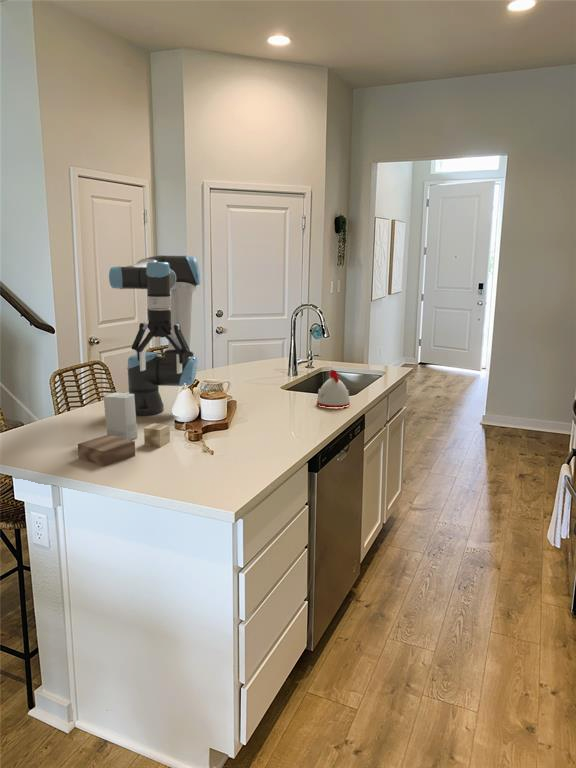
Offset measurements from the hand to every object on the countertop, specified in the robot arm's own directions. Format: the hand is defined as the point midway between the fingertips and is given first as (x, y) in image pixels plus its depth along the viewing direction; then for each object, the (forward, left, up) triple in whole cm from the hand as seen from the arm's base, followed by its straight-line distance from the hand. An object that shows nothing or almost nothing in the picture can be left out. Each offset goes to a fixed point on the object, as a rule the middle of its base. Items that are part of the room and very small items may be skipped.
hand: (161, 371), depth 200 cm
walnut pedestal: (+3, -26, -23) cm, 35 cm away
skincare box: (-8, -12, -23) cm, 27 cm away
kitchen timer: (+25, +74, -23) cm, 82 cm away
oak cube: (+5, -8, -23) cm, 25 cm away
